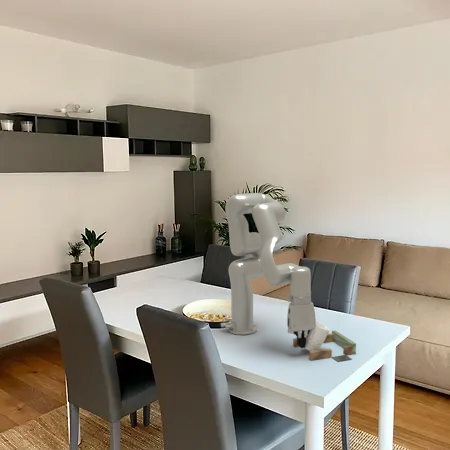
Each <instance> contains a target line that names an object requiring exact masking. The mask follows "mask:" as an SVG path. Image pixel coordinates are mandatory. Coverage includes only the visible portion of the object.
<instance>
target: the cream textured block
mask: <svg viewBox="0 0 450 450" xmlns="http://www.w3.org/2000/svg"><path fill="white" fill-rule="evenodd" d="M330 331H331V330H330V328H329V327H327V326H326V325H325V324H322V323H320V322H319V321H316V327H315V328H314V329H311V330H310V332H309V333H308V335H307V337H306V344H305V348H304V349H306V350H307V351H308V352H309V351H315V350H321V347H322V345H323V344H324V343H323V342H324V340H325V339H326V337H327V335H328V334H330V333H329V332H330Z"/></svg>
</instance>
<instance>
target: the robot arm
mask: <svg viewBox="0 0 450 450" xmlns="http://www.w3.org/2000/svg"><path fill="white" fill-rule="evenodd" d="M245 214H251V215H252V219H253V221H254V223H255V227H256V229H257V231H258V232H257V231H255V232H253V231H252V232H250V231H249V230H250V228H249V222H248V220H247V218H246V216H245ZM225 216H226V219H227V220H226V221H227V224H228V234H229V246H230V251H231V254H232V255H233V256H236V257H243V256H249V257H245V258H240V259H236V260H233V261H232V262H230V264H229V266H228V276H229V281H230V296H231V297H230V298H231V299H230V300H231V302H230V303H231V308H230V309H231V319H229V321H227V322H220V327H221V328H225V329H227V330H228V332H229V333H231V334H232V335H239V336H241V335H242V336H244V335H245V336H246V335H252V334H254V333H256V332H257V330H258V327H257V326H256V324H254V290H253V287H252V285H251V283H250V282H249V281H251V280H255V279H259V278H262V277H263V276H264V278H265V280H266V281H267V283H269V285H271V286H274V287H278V286H282V285H286V284H287V285H288V284H290V295H289V296H290V297H287V302H288V303H289V304H288V308H287V317H286V318H287V319H286V321H287V322H286V323H287V324H286V325H287V333H288V334H290V335H295V336H296V338H297V345H298V346H299V347H298V348H300V349H305V344H306V337H307V335H308V333H309V332H310V330H311V329H314V328H315V327H316V322H317V321H316V311H315V306H314V302H312V291H311V289H312V286H311V285H312V284H311V283H312V282H311V280H312V279H311V277H312V276H311V275H312V273H311V269H310V268H309V267H307V266H300V265H298V264H295V263H291V262H290V263H289V262H288V263H282V264H277V265H276V262H275V259H274V250H275V247H276V245H278V244H279V243H281V241H282V240H283V238H284V235H283V233H282V230H281V228H280V226H279V223H281V222H283V220H284V219H285V218H286V210H285V207H284V205H282V204H281V202H279V201H277V200H276V199H273V198H272V197H270V196H268V195H267V194H264V193H261V192H253V193H252V192H251V193H250V192H249V193H239V194H234V195H232V196H230V197H229V198H228V199H227V201H226V203H225Z"/></svg>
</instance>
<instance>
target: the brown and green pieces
mask: <svg viewBox="0 0 450 450" xmlns="http://www.w3.org/2000/svg"><path fill="white" fill-rule="evenodd" d="M325 343H335V344H336V345H338V346H339V347H341V348H342V349H343V351H342V355H335V356H332V352H333V350H332V349H331V348H328V347H327V348H320V349H319V350H315V351H309V350H308V356H309V357H308V359H309V360H310V361H317V360H323V359H330V358H332V360H334V361H336V362H337V363H339V362H345V361H351V360H353V359H352V358H351V357H350V356H348V355H356V354H357V343H356V342H354V341H353V340H351V339H350V338H348V337H346V336H344V335H343V334H342V333H340V332H339V331H337V330H331V333H328V335H327V337H326V339H325V340H324V342H323V344H325ZM292 346H293V347H294V348H300V347H299V346H298V345H297V337H295V338H292Z"/></svg>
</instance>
